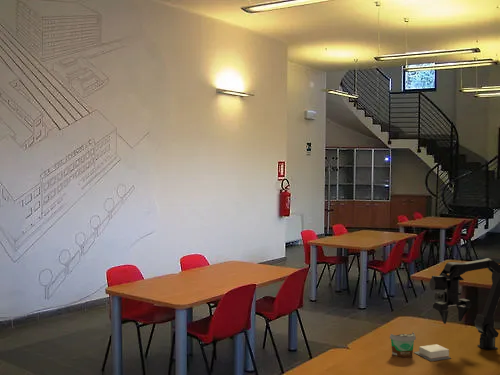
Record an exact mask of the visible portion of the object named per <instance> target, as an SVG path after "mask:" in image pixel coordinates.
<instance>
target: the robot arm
mask: <svg viewBox="0 0 500 375" xmlns="http://www.w3.org/2000/svg"><path fill="white" fill-rule="evenodd" d="M484 269H488V271H489V272H490V273H491V282H492V284H491V287H490V289H489V293H488V295H487V299H486V302H485V304H484V307H483V311H482V312H481V313H480V314H479V313H476V317H475V319H474V321H473V322H474V327H475V328H476V329H477V332H478V333H480V335H479V344H477V347H478V348H481V349H484V350H486V351H492V350H497V349H499V348H498V347H497V346H496V338H498V337H499V335H500V334H499V332H498V331H497V329H496V328H495V317H494V316H495V313H496V310H497V307H498V303H499V301H500V264H499V263H497V261H495V260H494V259H491V258H489V257H487V258H482V259H477V260H472V261H471V260H470V261H466V262H456V261H455V262H454V261H451V262H450V261H448V262H446V263H445V265H444V268H443V269H442V271H441V272H440V273H439V275H432V276H431V278H430V280H429V283H428V284H429V289H430V290H431V291H433V292H434V291H443V293H442V294H441V293H440V292H436V293H434V300H435V302H433V303H432V309H435V311H438V312H439V316H440V317H441V320H442V322H443V324H444V325H447V322H448V316H449V310H448V309H449V308H450V307H456V308H457V318H458V322H460V323H461V322H462V320H463V319H464V317H465V315H466V313H467V311H468V310H469V309H470V308H471V307H472V306H473V305H472V301H471V300H470V299H466V298H460V295H462V293H461V292H460V281H464V280H465V279H464V278H463V277H462V276H461V275H464V274H465V273H468V272H472V271H477V270H484Z"/></svg>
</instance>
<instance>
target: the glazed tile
mask: <svg viewBox="0 0 500 375" xmlns="http://www.w3.org/2000/svg"><path fill="white" fill-rule="evenodd" d="M418 351H419V353H420V354H422V355H424V356H426V357H428V358H430V359H433V358H440V357H447V356H448V357H450V349H449V348H446V347H444V346H442V345H439V344H437V343H435V344H427V345H421V346H419V348H418Z"/></svg>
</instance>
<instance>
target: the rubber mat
mask: <svg viewBox="0 0 500 375" xmlns="http://www.w3.org/2000/svg"><path fill="white" fill-rule="evenodd" d="M413 353H414V354H416V355H417V356H420V357H421V358H424V359H425V360H427V361H429V362H435V361H443V360H444V361H445V360H450V359H451V356H447V357H440V358H433V359H430V358H428V357H426V356H424V355H422V354H420V353H419V350H418V351H413Z"/></svg>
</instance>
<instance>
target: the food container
mask: <svg viewBox="0 0 500 375" xmlns="http://www.w3.org/2000/svg"><path fill="white" fill-rule="evenodd" d="M389 339H390V341H391V342H390V344H391V355H392V357H395V358H399V359H409V358H412V357H413V355H414V354H413V353H414V345H415V344H414V343H415V341H416V334H415V332H414V331H412V333H400V334H393V333H390V335H389Z"/></svg>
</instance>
